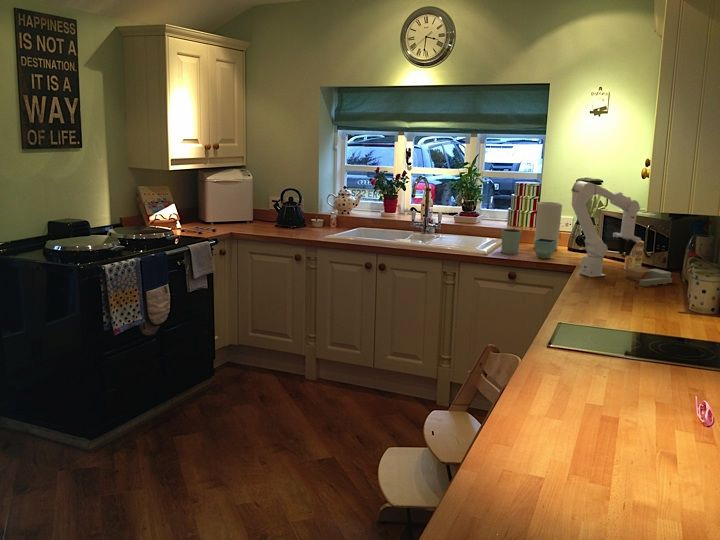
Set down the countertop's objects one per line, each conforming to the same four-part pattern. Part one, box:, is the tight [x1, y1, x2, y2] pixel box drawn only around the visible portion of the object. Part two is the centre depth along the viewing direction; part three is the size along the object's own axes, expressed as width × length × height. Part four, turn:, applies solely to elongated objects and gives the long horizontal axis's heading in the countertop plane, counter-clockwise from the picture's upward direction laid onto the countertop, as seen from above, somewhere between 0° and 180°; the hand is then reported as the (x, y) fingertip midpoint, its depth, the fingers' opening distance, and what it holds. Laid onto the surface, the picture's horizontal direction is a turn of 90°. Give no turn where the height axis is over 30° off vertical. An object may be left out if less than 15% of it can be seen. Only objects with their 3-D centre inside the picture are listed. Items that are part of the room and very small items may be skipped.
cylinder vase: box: [533, 201, 563, 252], centre depth 377 cm, size 12×12×25 cm
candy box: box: [623, 238, 645, 271], centre depth 332 cm, size 9×4×15 cm, turn 8°
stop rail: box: [638, 277, 674, 287], centre depth 308 cm, size 18×2×2 cm, turn 117°
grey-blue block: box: [646, 268, 672, 279], centre depth 316 cm, size 6×8×4 cm
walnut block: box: [625, 268, 650, 282], centre depth 317 cm, size 6×8×4 cm
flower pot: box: [534, 238, 556, 259], centre depth 356 cm, size 9×9×9 cm
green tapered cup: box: [501, 228, 522, 255], centre depth 364 cm, size 10×10×12 cm
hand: (624, 254), depth 323 cm, fingers open, 3 cm apart
